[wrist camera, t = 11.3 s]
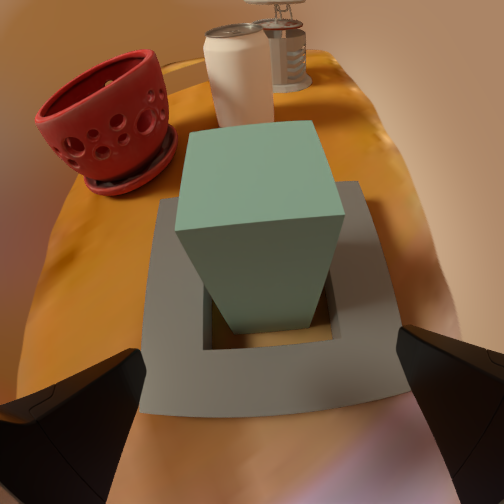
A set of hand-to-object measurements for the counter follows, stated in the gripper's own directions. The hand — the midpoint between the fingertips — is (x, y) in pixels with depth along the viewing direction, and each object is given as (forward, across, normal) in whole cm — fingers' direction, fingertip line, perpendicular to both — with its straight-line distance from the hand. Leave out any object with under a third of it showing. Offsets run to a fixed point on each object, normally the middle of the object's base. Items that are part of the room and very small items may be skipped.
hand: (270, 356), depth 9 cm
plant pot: (+22, +14, -10) cm, 28 cm away
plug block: (+11, 0, +2) cm, 11 cm away
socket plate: (+11, 0, +2) cm, 11 cm away
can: (+26, +1, -13) cm, 28 cm away
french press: (+35, -5, -22) cm, 42 cm away
